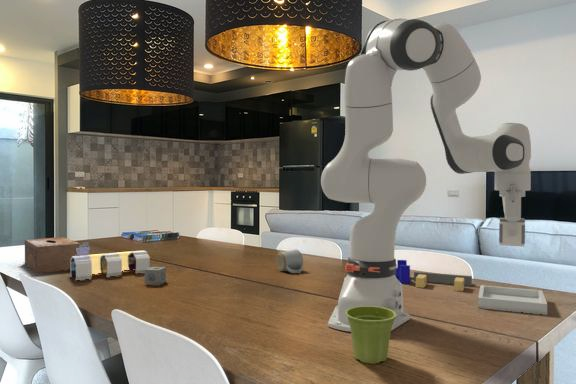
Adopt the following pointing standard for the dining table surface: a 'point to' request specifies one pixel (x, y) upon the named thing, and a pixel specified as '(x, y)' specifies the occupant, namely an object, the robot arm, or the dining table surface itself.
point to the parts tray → (512, 299)
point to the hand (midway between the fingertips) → (511, 235)
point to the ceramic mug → (290, 261)
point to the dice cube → (155, 275)
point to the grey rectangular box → (512, 240)
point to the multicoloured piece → (107, 263)
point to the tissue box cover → (50, 254)
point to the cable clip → (403, 272)
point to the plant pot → (370, 332)
